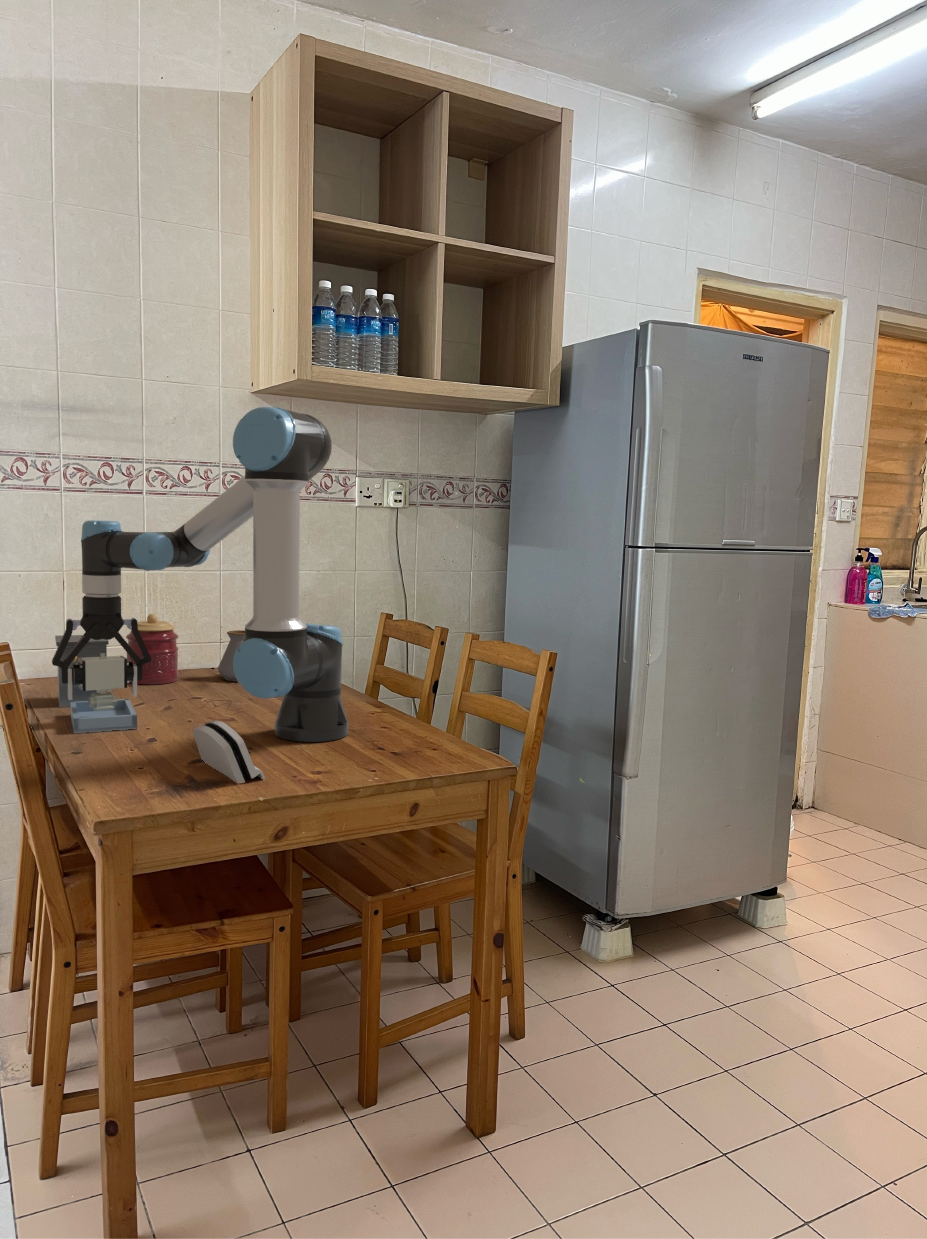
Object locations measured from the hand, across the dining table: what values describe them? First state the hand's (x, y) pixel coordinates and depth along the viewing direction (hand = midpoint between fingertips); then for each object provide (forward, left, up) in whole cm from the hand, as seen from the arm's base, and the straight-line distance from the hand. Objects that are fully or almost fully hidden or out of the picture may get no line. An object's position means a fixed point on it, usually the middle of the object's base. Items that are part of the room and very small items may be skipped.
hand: (102, 697), depth 190 cm
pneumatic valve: (0, 0, -3) cm, 3 cm away
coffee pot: (+36, -37, -6) cm, 52 cm away
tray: (0, 0, -5) cm, 5 cm away
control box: (+22, +3, -5) cm, 23 cm away
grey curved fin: (-43, -17, -6) cm, 47 cm away
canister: (+44, -15, -6) cm, 47 cm away
